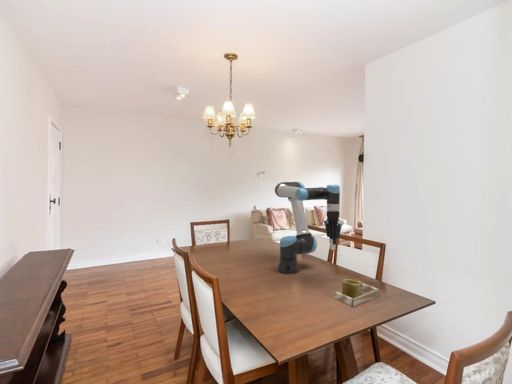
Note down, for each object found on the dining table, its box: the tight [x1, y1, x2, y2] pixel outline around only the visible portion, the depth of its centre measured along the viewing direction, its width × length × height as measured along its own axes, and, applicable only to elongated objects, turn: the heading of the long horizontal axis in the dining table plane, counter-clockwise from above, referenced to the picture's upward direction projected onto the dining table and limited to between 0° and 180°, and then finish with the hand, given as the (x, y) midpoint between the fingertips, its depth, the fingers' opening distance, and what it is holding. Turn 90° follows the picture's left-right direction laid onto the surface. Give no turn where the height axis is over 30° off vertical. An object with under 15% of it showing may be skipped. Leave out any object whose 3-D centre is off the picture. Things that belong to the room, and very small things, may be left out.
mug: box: [341, 278, 363, 298], centre depth 151 cm, size 12×10×10 cm
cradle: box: [333, 282, 381, 308], centre depth 150 cm, size 12×22×4 cm, turn 123°
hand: (332, 249), depth 168 cm, fingers closed
